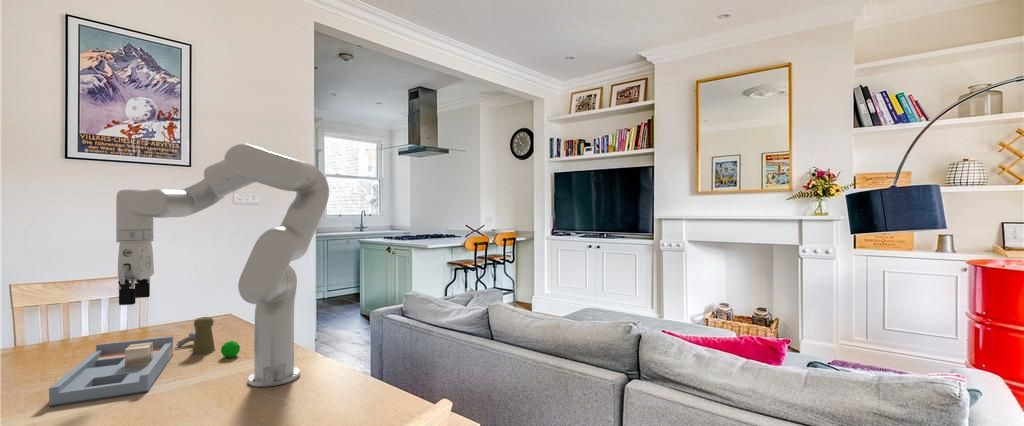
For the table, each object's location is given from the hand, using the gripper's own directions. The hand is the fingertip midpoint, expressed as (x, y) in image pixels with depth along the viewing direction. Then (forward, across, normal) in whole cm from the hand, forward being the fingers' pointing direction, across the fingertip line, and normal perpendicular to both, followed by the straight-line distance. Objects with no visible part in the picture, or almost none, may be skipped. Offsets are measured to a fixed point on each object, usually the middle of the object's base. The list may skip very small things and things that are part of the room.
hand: (135, 300), depth 118 cm
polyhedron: (+22, +14, -19) cm, 32 cm away
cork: (+22, +23, -10) cm, 33 cm away
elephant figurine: (+22, +33, -5) cm, 40 cm away
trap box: (+22, +6, +5) cm, 23 cm away
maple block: (+19, +6, +1) cm, 20 cm away
